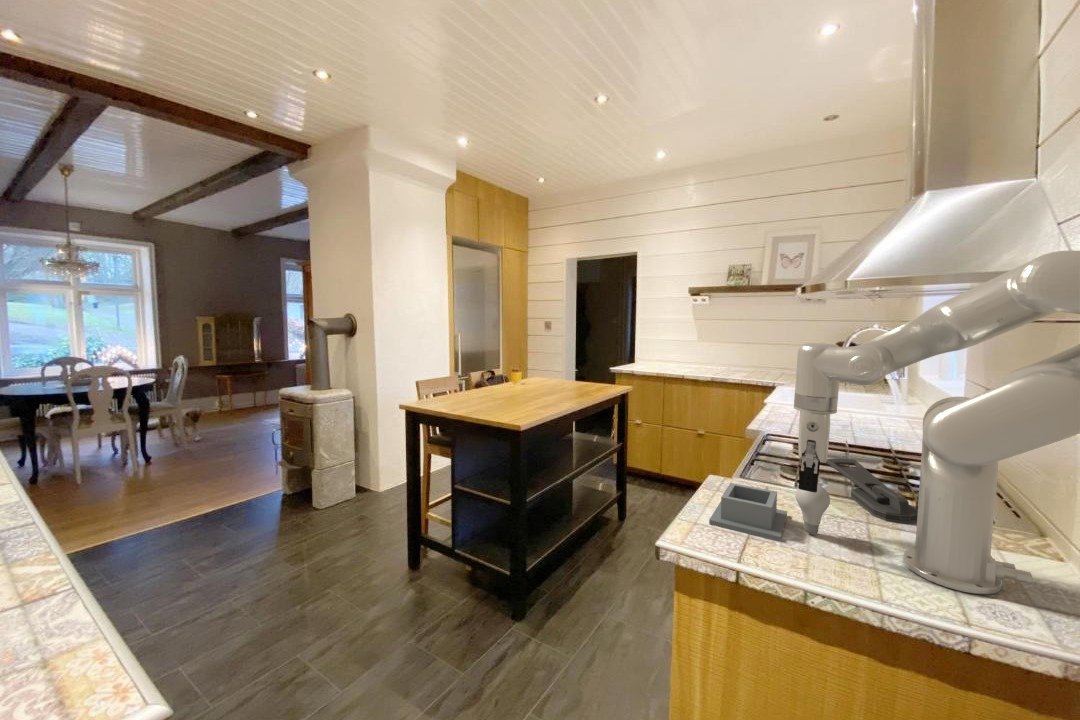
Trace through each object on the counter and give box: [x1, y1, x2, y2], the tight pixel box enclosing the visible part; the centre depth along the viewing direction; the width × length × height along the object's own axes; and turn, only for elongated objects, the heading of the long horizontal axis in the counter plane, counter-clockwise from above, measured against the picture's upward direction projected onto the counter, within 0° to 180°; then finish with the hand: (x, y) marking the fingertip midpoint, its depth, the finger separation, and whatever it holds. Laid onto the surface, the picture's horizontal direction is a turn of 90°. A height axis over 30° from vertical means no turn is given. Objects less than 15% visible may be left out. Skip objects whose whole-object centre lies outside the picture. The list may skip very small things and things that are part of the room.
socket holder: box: [708, 482, 788, 542], centre depth 97 cm, size 14×14×6 cm
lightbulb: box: [795, 484, 831, 535], centre depth 90 cm, size 6×6×11 cm
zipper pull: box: [825, 458, 918, 524], centre depth 106 cm, size 9×7×25 cm
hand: (808, 482), depth 90 cm, fingers open, 9 cm apart
